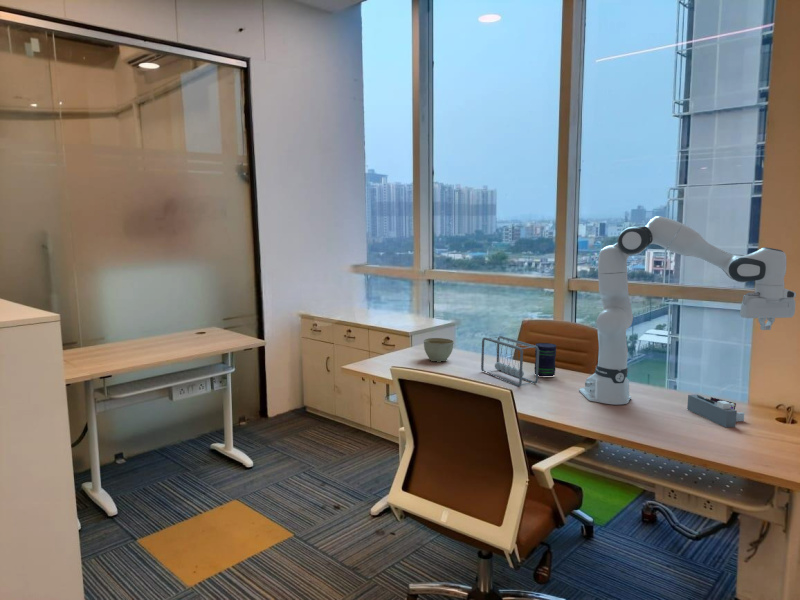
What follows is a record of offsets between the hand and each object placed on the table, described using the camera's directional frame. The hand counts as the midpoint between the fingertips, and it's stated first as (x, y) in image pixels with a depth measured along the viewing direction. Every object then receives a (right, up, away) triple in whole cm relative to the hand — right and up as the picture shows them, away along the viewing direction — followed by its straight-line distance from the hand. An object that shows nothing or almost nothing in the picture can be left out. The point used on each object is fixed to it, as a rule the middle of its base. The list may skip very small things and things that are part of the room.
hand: (765, 329), depth 201 cm
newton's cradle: (-83, -26, +58) cm, 105 cm away
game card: (-12, -34, +7) cm, 36 cm away
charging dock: (-13, -33, +6) cm, 37 cm away
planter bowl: (-114, -22, +92) cm, 148 cm away
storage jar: (-64, -26, +64) cm, 95 cm away
